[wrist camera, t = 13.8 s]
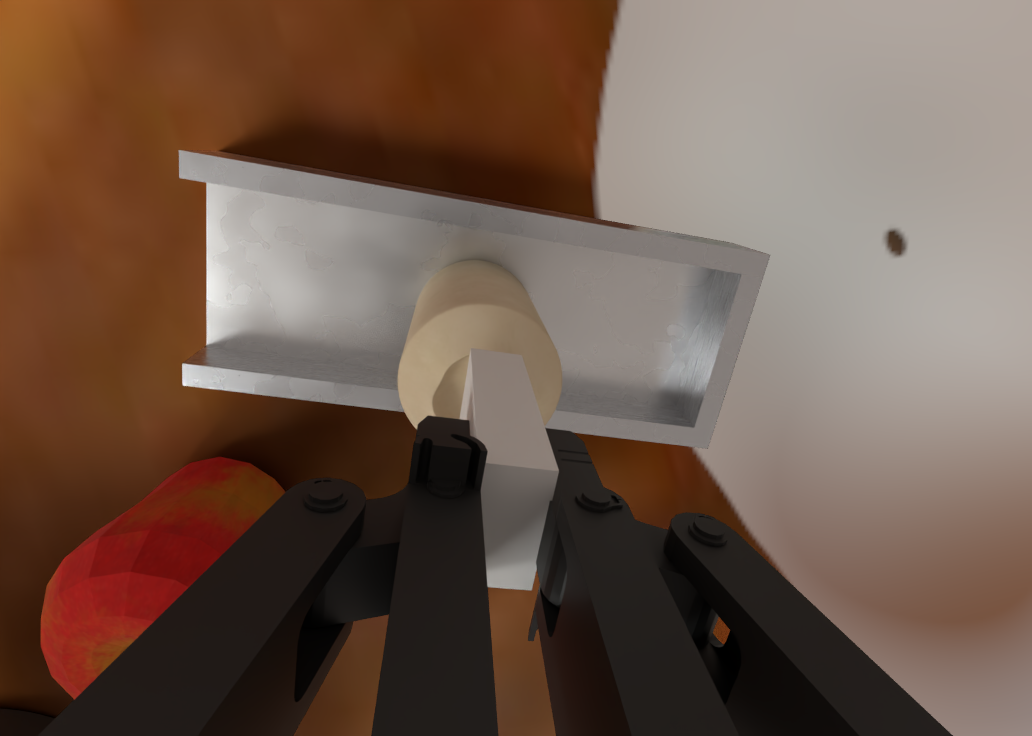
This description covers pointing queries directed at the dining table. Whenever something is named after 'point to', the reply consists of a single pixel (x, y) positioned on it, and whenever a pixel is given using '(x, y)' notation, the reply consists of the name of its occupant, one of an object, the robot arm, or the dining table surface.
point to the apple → (145, 564)
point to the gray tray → (428, 249)
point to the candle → (472, 339)
